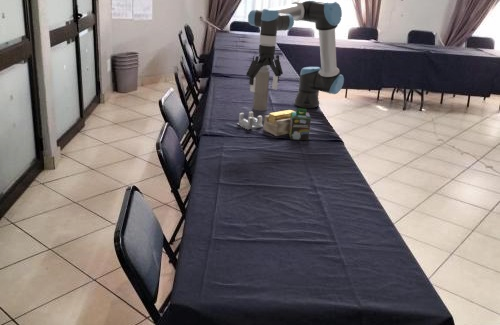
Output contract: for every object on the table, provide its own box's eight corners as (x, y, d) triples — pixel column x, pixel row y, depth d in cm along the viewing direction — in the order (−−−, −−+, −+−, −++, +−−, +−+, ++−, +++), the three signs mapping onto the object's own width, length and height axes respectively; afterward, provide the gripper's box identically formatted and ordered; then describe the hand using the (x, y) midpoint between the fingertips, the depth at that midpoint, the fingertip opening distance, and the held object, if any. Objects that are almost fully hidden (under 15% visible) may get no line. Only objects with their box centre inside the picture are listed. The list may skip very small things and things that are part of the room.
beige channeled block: (287, 125, 237) (288, 111, 234) (300, 131, 229) (301, 117, 226) (263, 129, 227) (264, 115, 224) (276, 135, 220) (277, 121, 217)
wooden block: (289, 118, 232) (290, 109, 230) (295, 120, 228) (296, 112, 227) (268, 121, 224) (269, 113, 222) (274, 124, 220) (275, 115, 219)
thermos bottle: (267, 107, 265) (271, 59, 254) (265, 111, 258) (269, 62, 247) (254, 106, 266) (257, 58, 255) (251, 109, 259) (255, 60, 248)
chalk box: (306, 134, 225) (310, 106, 220) (308, 140, 217) (312, 111, 211) (288, 133, 225) (291, 104, 219) (289, 139, 217) (293, 110, 211)
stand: (252, 122, 238) (253, 111, 235) (263, 127, 231) (263, 116, 229) (237, 124, 232) (237, 113, 230) (247, 130, 226) (248, 118, 223)
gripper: (282, 42, 215) (278, 86, 223) (240, 44, 200) (237, 90, 208) (293, 45, 209) (288, 89, 217) (250, 46, 195) (247, 94, 203)
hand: (263, 90), depth 213 cm, fingers open, 13 cm apart
